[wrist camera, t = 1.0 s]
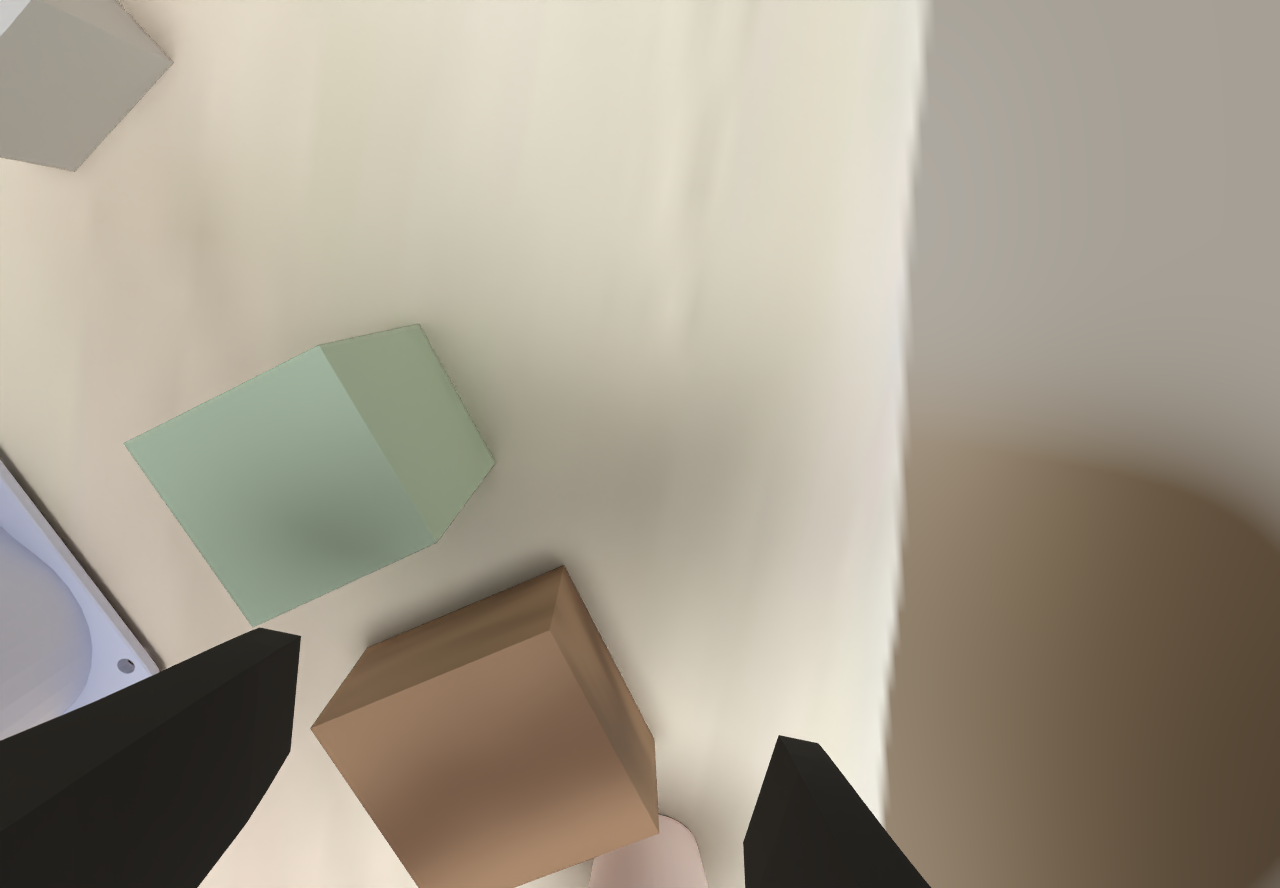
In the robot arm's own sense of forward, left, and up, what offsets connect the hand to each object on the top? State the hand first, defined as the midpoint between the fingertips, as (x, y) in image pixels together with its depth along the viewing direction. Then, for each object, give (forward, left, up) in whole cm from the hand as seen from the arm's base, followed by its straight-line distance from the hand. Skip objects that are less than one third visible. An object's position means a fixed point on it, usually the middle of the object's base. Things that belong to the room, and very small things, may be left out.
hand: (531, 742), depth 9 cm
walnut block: (+5, -5, -11) cm, 13 cm away
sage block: (-5, -4, -10) cm, 12 cm away
